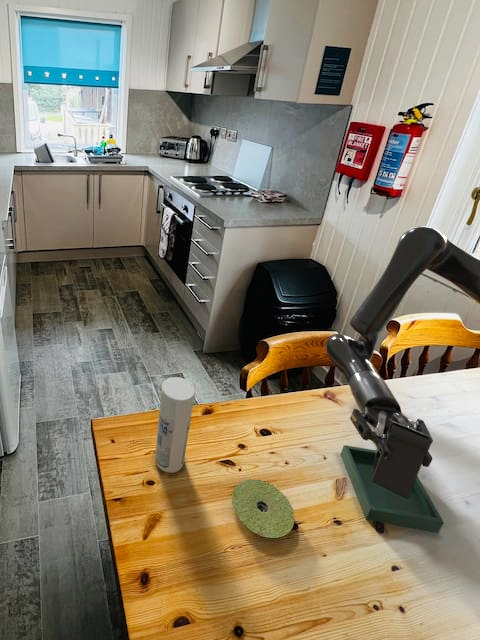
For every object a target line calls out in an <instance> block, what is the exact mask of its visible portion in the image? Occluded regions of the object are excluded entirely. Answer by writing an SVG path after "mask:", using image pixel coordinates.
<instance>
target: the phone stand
mask: <svg viewBox="0 0 480 640" xmlns="http://www.w3.org/2000/svg"><path fill="white" fill-rule="evenodd" d="M383 437H385V438H386V444H388V445H389V446H390V448H391V450H392V452H393V456H392V458H391V460H390V461H389V460H385V458H384V457H383V456H381V454H380V453H379V451H378V449H377V448H376V449H375V450H376V452H375V460H374V468H373V476H372V482H374V483H376V484H378V485H380V486H382V487H384V488H386V489H388V490H390V491H392V492H394V493H396V494H398V495H400V496H402V497H404V498H406V499H409V496H410V494H411V491H412V488H413V486H414V483H415V480H416V478H417V476H418V475H419V473H420V470H421V468H422V466H423V465H422V462H423V459H424V457H425V454H426V452H427V451H429V450H430V447H431V445H430V442H431V440H428V439H429V438H431V437H432V436H431V437H430V436H428V435H425V434H423V433H421V432H418V431H416V430H413V429H411V428H408V427H406V426H404V425H401V424H399V423H396V422H394V421H392V423H391V425H390V427H389V429H388V431H387V433H386V434H384V435H383ZM429 446H430V447H429ZM428 449H429V450H428Z"/></svg>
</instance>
